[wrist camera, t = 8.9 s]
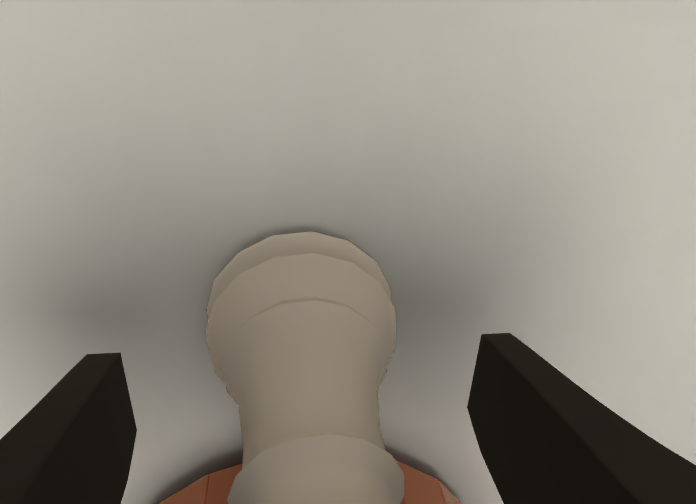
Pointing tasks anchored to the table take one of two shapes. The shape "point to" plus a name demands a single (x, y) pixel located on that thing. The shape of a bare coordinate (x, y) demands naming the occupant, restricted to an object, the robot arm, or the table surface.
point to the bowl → (213, 489)
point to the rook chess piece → (306, 370)
